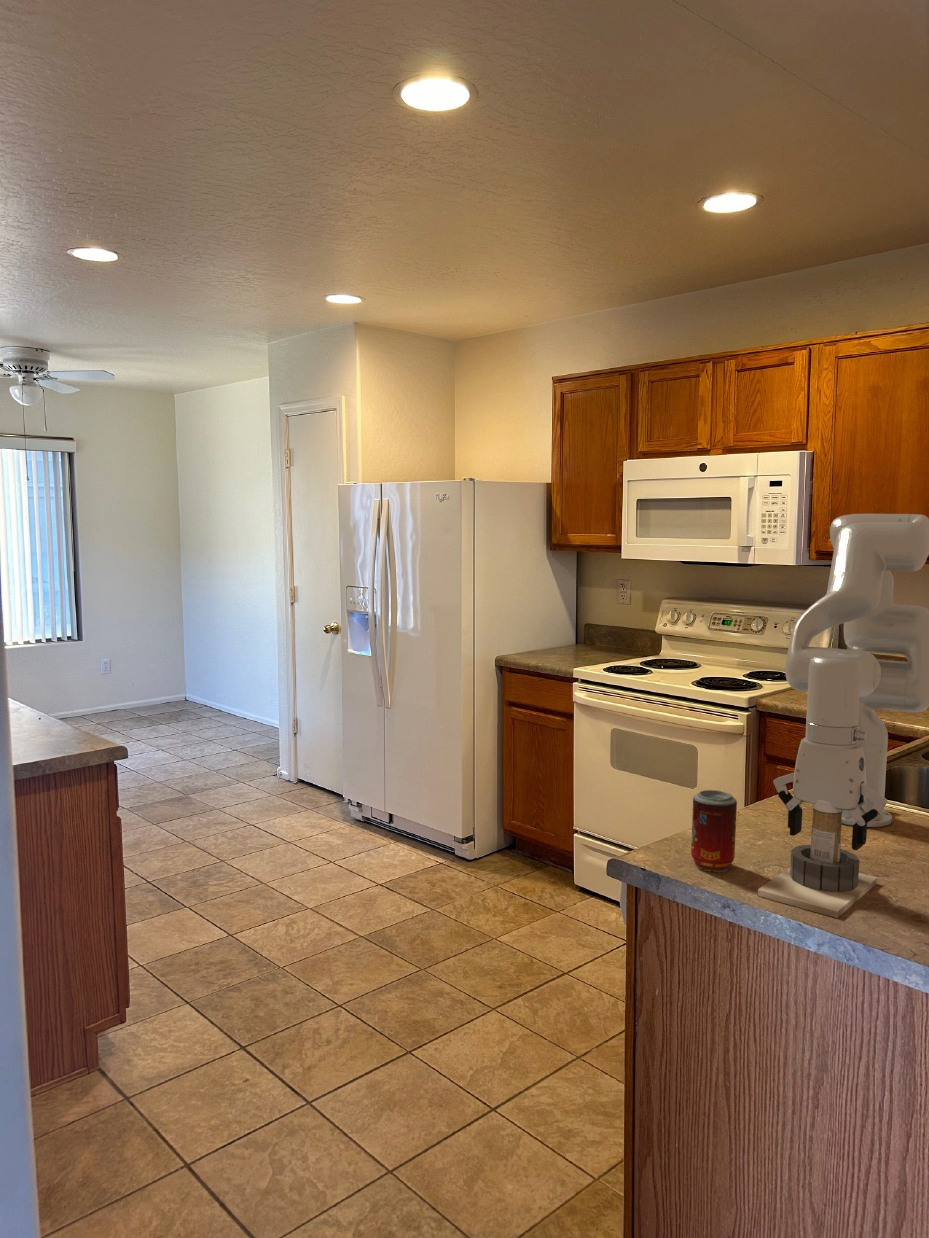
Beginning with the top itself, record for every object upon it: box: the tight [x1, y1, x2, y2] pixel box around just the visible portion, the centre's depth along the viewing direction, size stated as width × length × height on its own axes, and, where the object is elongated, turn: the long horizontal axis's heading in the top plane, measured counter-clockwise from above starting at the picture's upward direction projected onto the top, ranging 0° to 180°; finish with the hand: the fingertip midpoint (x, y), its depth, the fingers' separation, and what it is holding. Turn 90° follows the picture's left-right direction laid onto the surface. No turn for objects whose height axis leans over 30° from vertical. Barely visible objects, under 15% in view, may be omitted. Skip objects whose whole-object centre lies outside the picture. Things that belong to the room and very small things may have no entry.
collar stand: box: [757, 843, 878, 919], centre depth 143 cm, size 18×12×5 cm, turn 139°
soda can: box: [690, 789, 738, 873], centre depth 152 cm, size 7×7×12 cm
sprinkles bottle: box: [810, 800, 843, 864], centre depth 144 cm, size 5×5×13 cm
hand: (825, 840), depth 144 cm, fingers open, 9 cm apart
